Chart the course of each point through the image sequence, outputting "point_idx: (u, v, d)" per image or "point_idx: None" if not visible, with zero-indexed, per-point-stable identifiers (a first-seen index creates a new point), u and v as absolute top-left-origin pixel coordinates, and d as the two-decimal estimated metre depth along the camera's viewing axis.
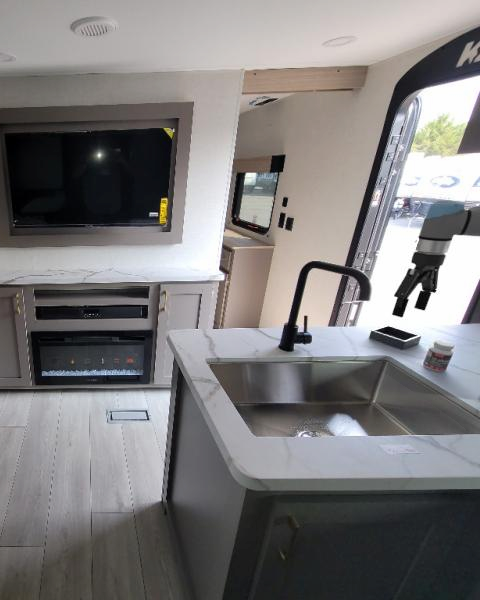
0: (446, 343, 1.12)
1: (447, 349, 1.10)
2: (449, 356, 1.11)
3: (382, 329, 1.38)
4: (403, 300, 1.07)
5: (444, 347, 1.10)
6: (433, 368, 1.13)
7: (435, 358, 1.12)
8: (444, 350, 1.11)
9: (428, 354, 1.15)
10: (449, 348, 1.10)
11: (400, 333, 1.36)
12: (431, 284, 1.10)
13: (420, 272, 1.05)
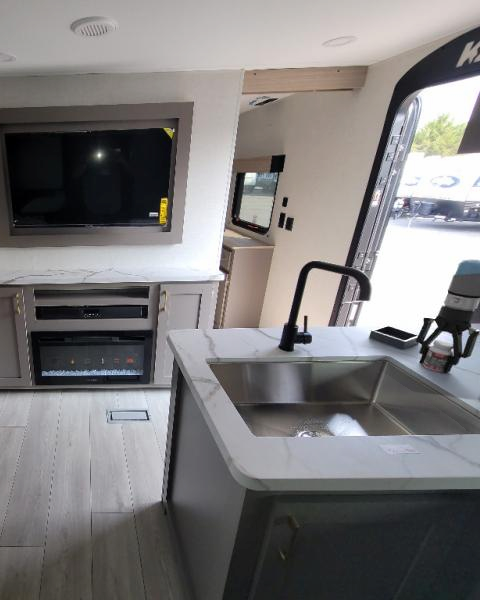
0: (446, 343, 1.12)
1: (447, 349, 1.10)
2: (449, 356, 1.11)
3: (382, 329, 1.38)
4: None
5: (444, 347, 1.10)
6: (433, 368, 1.13)
7: (435, 358, 1.12)
8: (444, 350, 1.11)
9: (428, 354, 1.15)
10: (449, 348, 1.10)
11: (400, 333, 1.36)
12: None
13: None
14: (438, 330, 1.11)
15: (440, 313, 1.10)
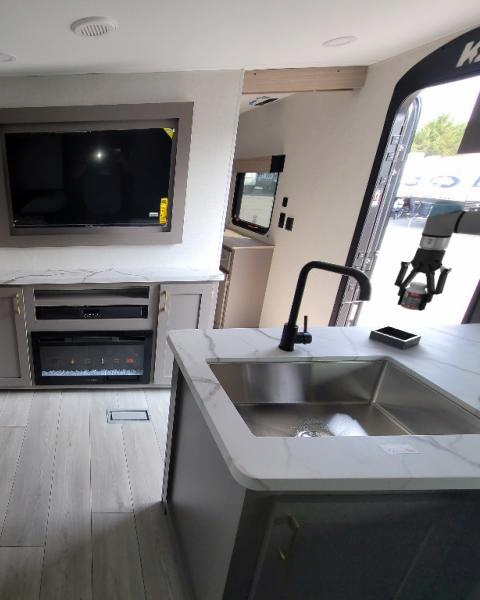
0: (420, 283, 1.23)
1: (421, 288, 1.21)
2: None
3: (382, 329, 1.38)
4: None
5: (419, 286, 1.21)
6: (409, 307, 1.24)
7: (411, 297, 1.23)
8: (419, 289, 1.22)
9: (405, 295, 1.25)
10: (423, 287, 1.21)
11: (400, 333, 1.36)
12: None
13: None
14: (413, 271, 1.22)
15: (415, 255, 1.21)
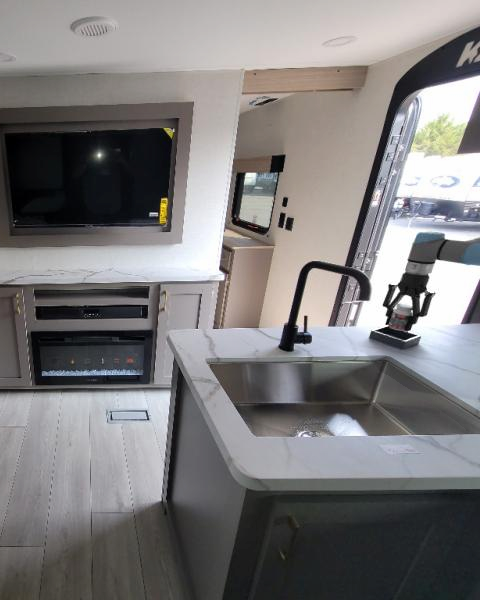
0: (407, 305, 1.29)
1: (407, 310, 1.27)
2: (409, 316, 1.28)
3: (382, 329, 1.38)
4: None
5: (405, 308, 1.27)
6: (396, 328, 1.30)
7: (398, 319, 1.29)
8: (405, 311, 1.28)
9: (392, 316, 1.32)
10: (409, 309, 1.27)
11: (400, 333, 1.36)
12: None
13: None
14: (400, 294, 1.28)
15: (401, 279, 1.27)
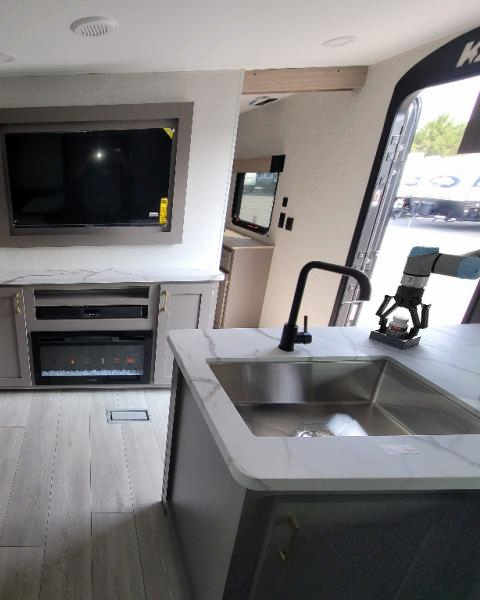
0: (403, 317, 1.31)
1: (403, 322, 1.29)
2: (405, 328, 1.29)
3: None
4: None
5: (401, 320, 1.29)
6: None
7: (394, 330, 1.31)
8: (401, 323, 1.30)
9: (388, 327, 1.33)
10: (405, 321, 1.29)
11: None
12: None
13: None
14: (395, 305, 1.30)
15: (397, 291, 1.28)
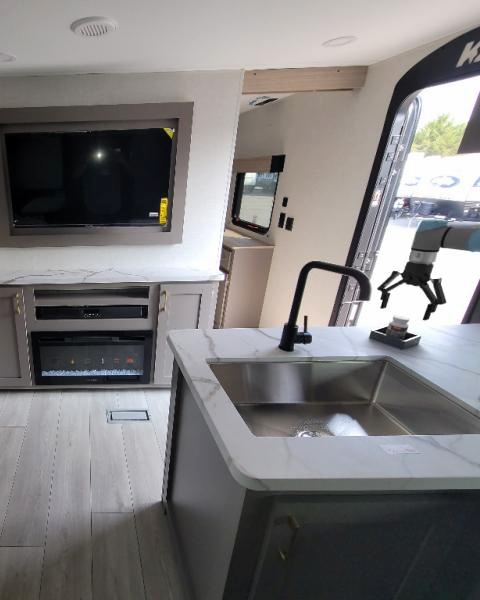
0: (403, 317, 1.31)
1: (403, 322, 1.29)
2: (405, 328, 1.29)
3: (382, 329, 1.38)
4: None
5: (401, 320, 1.29)
6: None
7: (394, 330, 1.31)
8: (401, 323, 1.30)
9: (388, 327, 1.33)
10: (405, 321, 1.29)
11: None
12: None
13: None
14: (401, 282, 1.27)
15: (405, 268, 1.25)
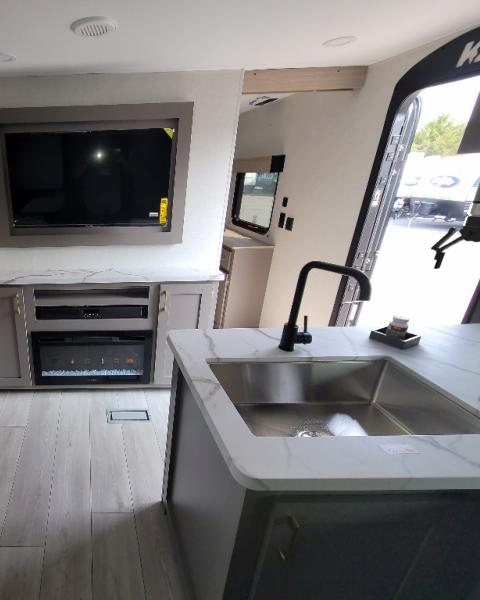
0: (403, 317, 1.31)
1: (403, 322, 1.29)
2: (405, 328, 1.29)
3: (382, 329, 1.38)
4: None
5: (401, 320, 1.29)
6: None
7: (394, 330, 1.31)
8: (401, 323, 1.30)
9: (388, 327, 1.33)
10: (405, 321, 1.29)
11: None
12: None
13: None
14: (459, 239, 1.22)
15: (465, 223, 1.19)
